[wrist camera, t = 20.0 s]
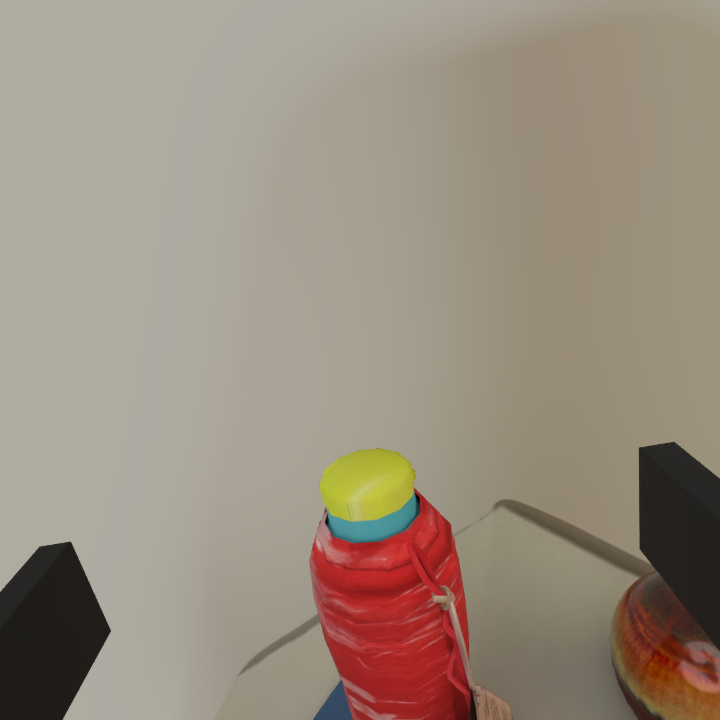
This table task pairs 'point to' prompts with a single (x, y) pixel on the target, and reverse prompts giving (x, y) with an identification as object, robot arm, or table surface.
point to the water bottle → (393, 596)
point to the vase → (663, 655)
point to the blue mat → (335, 706)
